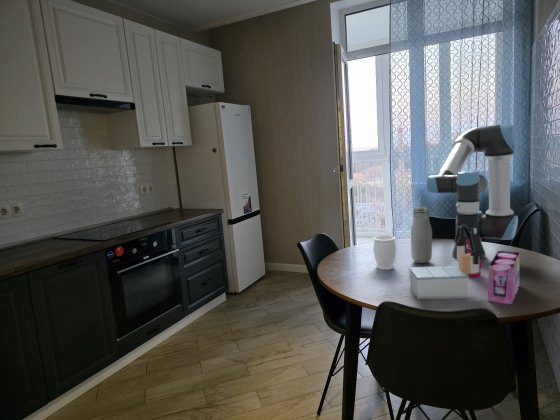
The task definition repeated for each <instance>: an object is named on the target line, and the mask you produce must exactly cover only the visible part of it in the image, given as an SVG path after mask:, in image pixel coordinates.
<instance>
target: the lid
mask: <svg viewBox="0 0 560 420" xmlns="http://www.w3.org/2000/svg"><path fill="white" fill-rule="evenodd" d="M470 254H471V253H467V254H459V262H458V266H457V265H443V266H442V265H440V266H439V265H438V266H414V267H412V266H411V267H408V270H409V272H410V271H411V272H412V274H413V275H414V276H415V277H416V279H417V280H423V279H451V278H452V279H454V278H468V279H469V276H468V275H467V274H476V273H471V256H470Z"/></svg>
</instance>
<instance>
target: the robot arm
mask: <svg viewBox="0 0 560 420" xmlns="http://www.w3.org/2000/svg"><path fill="white" fill-rule="evenodd" d="M518 148H519V138H518V132H517V129H516V127H515V126H514V125H513V124H497V125H486V126H476V127H472V128H470V129H468V130H466V131H464V132H463V133H461V134H460V135H459V136H458V137H456V139H455V140H454V142H453V143H452V145H451V151H450V153H449V154H448V156H447V158H446V160H445V161H444V163H443V165H442V166H441V168H440V170H439V171H438V173H437V174H433V175H428V176H427V179H426V190H427V192H428V193H431V194H455V195H456V204H455V207H456V212H457V213H456V217H455V237H454V245H453V246H454V247H453V248H452V251H451V253H452V254H451V256H452V257H453V258H454V259H456V262H457V263H459V254H467V253H468V249H467V248H466V247H467V246H466V245H467V243H466V242H465V240H466V239H467V240H468V242H469V246H470V249H471V254H470V256H471V273H477V272H479V271H480V270H479V258H480V260H484V259H486V251H485V249H484V248H485V247H484V246H483V242H482V241H483V240H482V239H491V240H501V241H504V240H506V241H507V240H508V241H510V240H513V238H514V237H515V235H516V232H517V230H518V226H519V225H518V224H519V216H518V215H515V212H514V210H513V209H512V208H511V163H510V162H511V157H512V156H513V155H514V154H515V153H514V152H515V151H517V150H518ZM474 153H483V154H484V157H485V158H486V159H487V160H488V161H487V163H488V165H487V166H488V169H487V170H488V178H487V176H485V175H484V174H481V173H479V171H477V170H469V171H466V170H465V171H464V170H463V171H461V170H462V169H463V167H464V165H465V163H466V161H467V160H468V158H469V157H470V156H471V155H473V154H474ZM487 188H488V209H487V210H486V211H485V214H483V212H482V210H480V194H481V193H483V192H485V190H487ZM479 237H480V238H479ZM480 239H481V241H480Z"/></svg>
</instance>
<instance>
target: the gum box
mask: <svg viewBox="0 0 560 420" xmlns="http://www.w3.org/2000/svg"><path fill="white" fill-rule="evenodd" d="M520 261H521V253H520V252H517V251H516V252H515V251H507V250H506V251H505V250H497V252H496V253H495V255H494V257H493V258H492V260H491V262H489V264H488V282H487V283H488V284H487V285H488V286H487V302H492V303H499V304H505V305H510V304H512V305H513V302H514V301H515V298H516V296H515V295H517V293H518V290H519V288H520V264H521V263H520ZM518 287H519V288H518Z"/></svg>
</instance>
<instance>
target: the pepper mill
mask: <svg viewBox="0 0 560 420" xmlns="http://www.w3.org/2000/svg"><path fill="white" fill-rule="evenodd" d="M479 238H480V237H479ZM480 241H481V239H480ZM465 242H466V243H467V245H466V246H467V247H466V248H467V249H468V253H471V249H470V246H469V242H468V240H467V239H466V240H465ZM482 263H483V262H482V261H481V260H480V258H479V272H477V273H476V274H467V275H468V276H469V277H470V278H478V277H481V273H482V271H481V269H482V268H483V264H482Z"/></svg>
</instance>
